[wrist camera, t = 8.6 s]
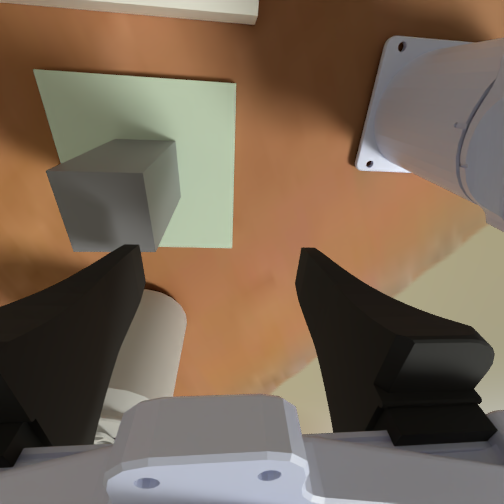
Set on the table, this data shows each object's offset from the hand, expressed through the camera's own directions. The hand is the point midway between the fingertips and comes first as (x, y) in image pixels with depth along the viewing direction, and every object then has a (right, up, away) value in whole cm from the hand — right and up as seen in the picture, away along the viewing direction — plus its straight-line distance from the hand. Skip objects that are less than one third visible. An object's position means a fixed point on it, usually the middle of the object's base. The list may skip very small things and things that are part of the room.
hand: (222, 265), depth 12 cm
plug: (-6, +6, +7) cm, 11 cm away
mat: (-6, +6, +8) cm, 12 cm away
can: (-9, -5, +15) cm, 18 cm away
